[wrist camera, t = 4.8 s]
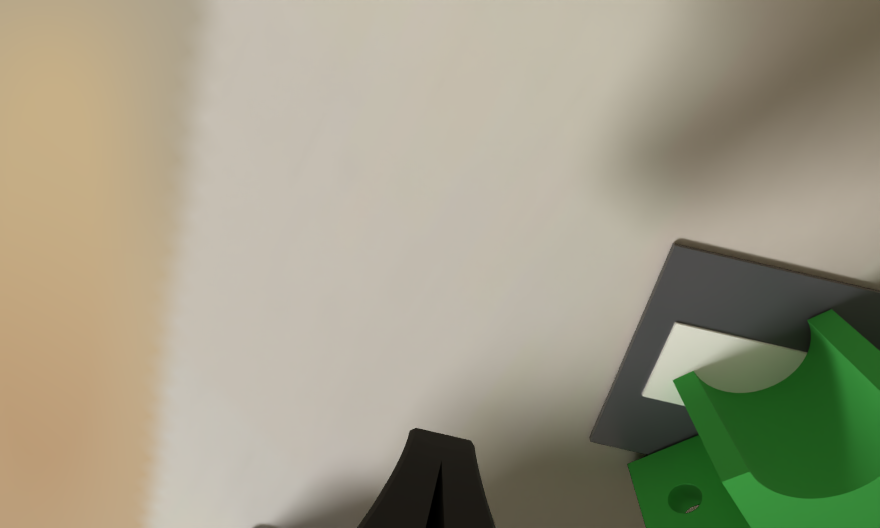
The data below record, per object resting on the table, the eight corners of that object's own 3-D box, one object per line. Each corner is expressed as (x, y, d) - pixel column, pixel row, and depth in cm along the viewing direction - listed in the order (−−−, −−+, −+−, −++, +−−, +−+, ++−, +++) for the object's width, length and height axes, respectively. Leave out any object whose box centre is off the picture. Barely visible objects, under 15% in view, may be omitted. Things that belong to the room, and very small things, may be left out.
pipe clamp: (934, 259, 16) (1090, 344, 12) (969, 351, 17) (1124, 458, 13) (591, 415, 19) (619, 524, 15) (639, 484, 20) (678, 603, 16)
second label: (589, 437, 20) (590, 443, 20) (673, 243, 17) (675, 246, 17) (825, 492, 20) (830, 498, 20) (956, 309, 17) (964, 313, 17)
